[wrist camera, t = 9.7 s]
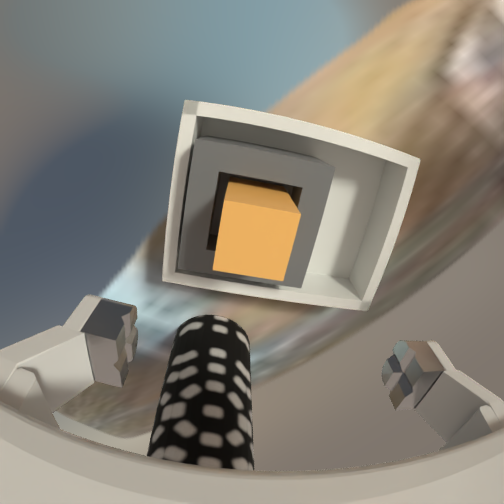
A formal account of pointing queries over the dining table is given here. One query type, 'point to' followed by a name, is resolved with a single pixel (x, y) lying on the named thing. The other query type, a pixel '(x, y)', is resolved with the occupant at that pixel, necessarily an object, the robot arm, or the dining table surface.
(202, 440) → the white-spotted black cylinder
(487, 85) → the dining table surface
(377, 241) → the bay
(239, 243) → the plug
